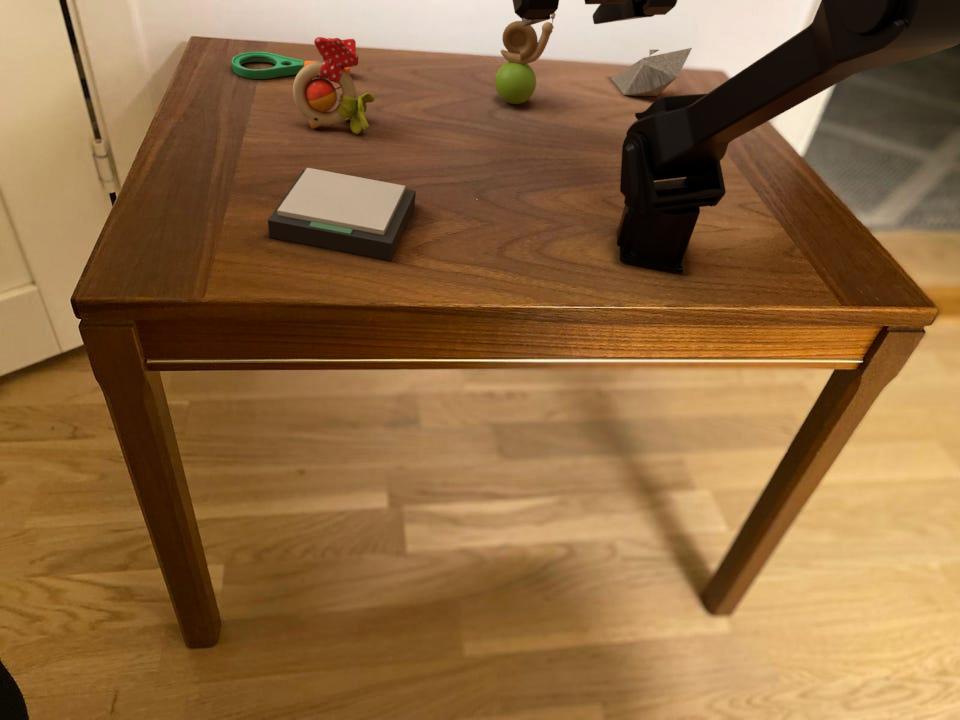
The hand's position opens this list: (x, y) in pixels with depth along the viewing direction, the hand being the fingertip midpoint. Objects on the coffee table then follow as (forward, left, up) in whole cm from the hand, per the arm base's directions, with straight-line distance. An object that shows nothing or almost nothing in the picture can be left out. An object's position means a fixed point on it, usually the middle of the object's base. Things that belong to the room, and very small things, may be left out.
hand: (559, 20), depth 85 cm
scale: (+17, +28, -13) cm, 35 cm away
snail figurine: (+4, -7, -14) cm, 16 cm away
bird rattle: (+24, +9, -14) cm, 29 cm away
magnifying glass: (+34, -4, -14) cm, 37 cm away
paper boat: (-14, -19, -14) cm, 27 cm away
